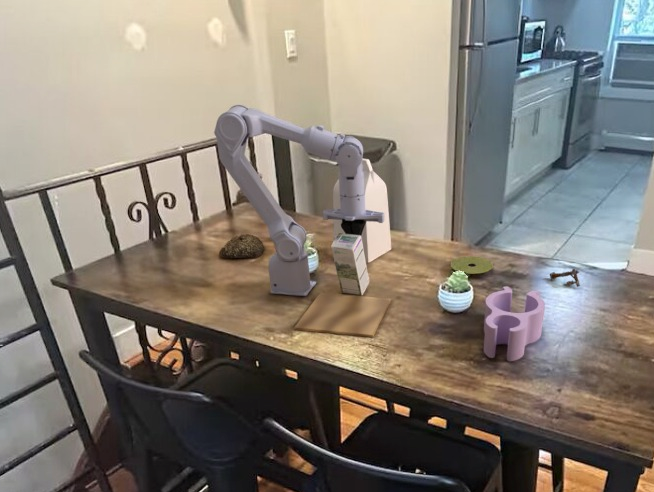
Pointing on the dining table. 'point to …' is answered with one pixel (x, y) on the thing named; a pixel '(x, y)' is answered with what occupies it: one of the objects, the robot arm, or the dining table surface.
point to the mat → (472, 265)
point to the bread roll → (242, 247)
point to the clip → (512, 323)
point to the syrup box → (350, 263)
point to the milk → (375, 200)
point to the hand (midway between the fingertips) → (355, 249)
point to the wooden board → (344, 314)
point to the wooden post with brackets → (573, 272)
